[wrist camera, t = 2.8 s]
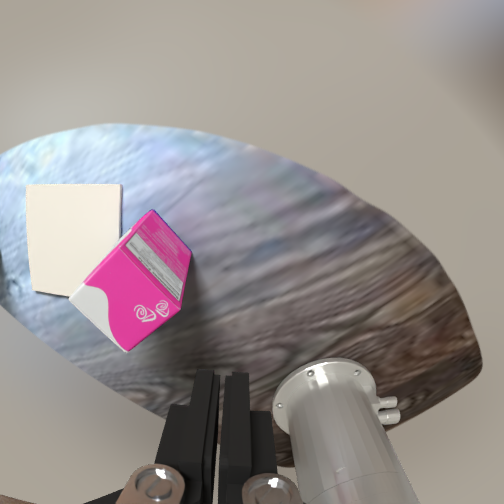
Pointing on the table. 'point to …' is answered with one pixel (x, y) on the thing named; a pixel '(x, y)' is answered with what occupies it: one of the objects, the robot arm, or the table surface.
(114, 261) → the supplement box
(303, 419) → the robot arm
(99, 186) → the mat
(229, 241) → the table surface
